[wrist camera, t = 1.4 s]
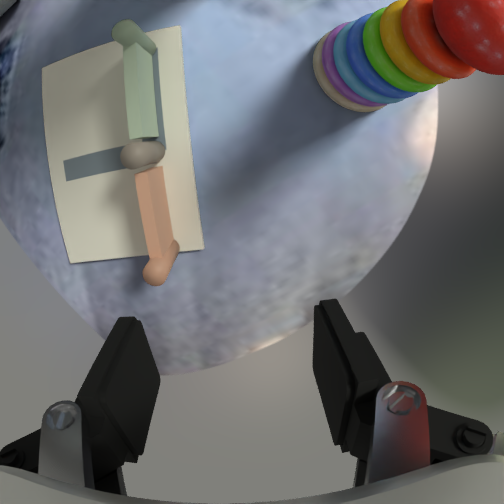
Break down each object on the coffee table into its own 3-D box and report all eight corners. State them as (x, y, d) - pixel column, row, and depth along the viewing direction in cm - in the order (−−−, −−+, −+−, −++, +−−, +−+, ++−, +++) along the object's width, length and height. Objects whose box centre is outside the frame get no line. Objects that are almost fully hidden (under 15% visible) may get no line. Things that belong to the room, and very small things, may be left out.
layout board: (45, 68, 20) (41, 68, 19) (181, 27, 20) (179, 25, 19) (73, 260, 27) (70, 263, 27) (204, 246, 27) (203, 249, 27)
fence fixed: (135, 43, 20) (111, 23, 14) (155, 38, 20) (135, 16, 14) (143, 139, 23) (118, 141, 18) (163, 135, 23) (143, 135, 18)
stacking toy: (332, 124, 24) (498, 120, 6) (295, 42, 21) (390, -89, 4) (405, 100, 23) (577, 95, 5) (371, 24, 20) (510, -58, 3)
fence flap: (143, 142, 23) (118, 145, 18) (164, 139, 23) (143, 140, 18) (162, 258, 27) (145, 287, 22) (181, 256, 27) (168, 285, 22)
